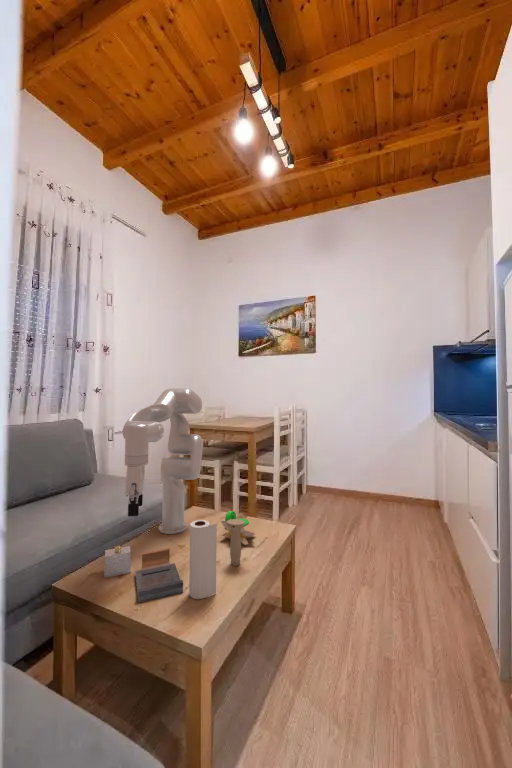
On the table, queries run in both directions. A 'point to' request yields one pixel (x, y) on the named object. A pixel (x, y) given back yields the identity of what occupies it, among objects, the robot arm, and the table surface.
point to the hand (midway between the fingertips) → (135, 510)
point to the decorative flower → (243, 533)
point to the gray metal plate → (158, 584)
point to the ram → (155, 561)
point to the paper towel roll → (202, 559)
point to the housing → (117, 561)
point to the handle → (235, 540)
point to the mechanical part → (234, 517)
